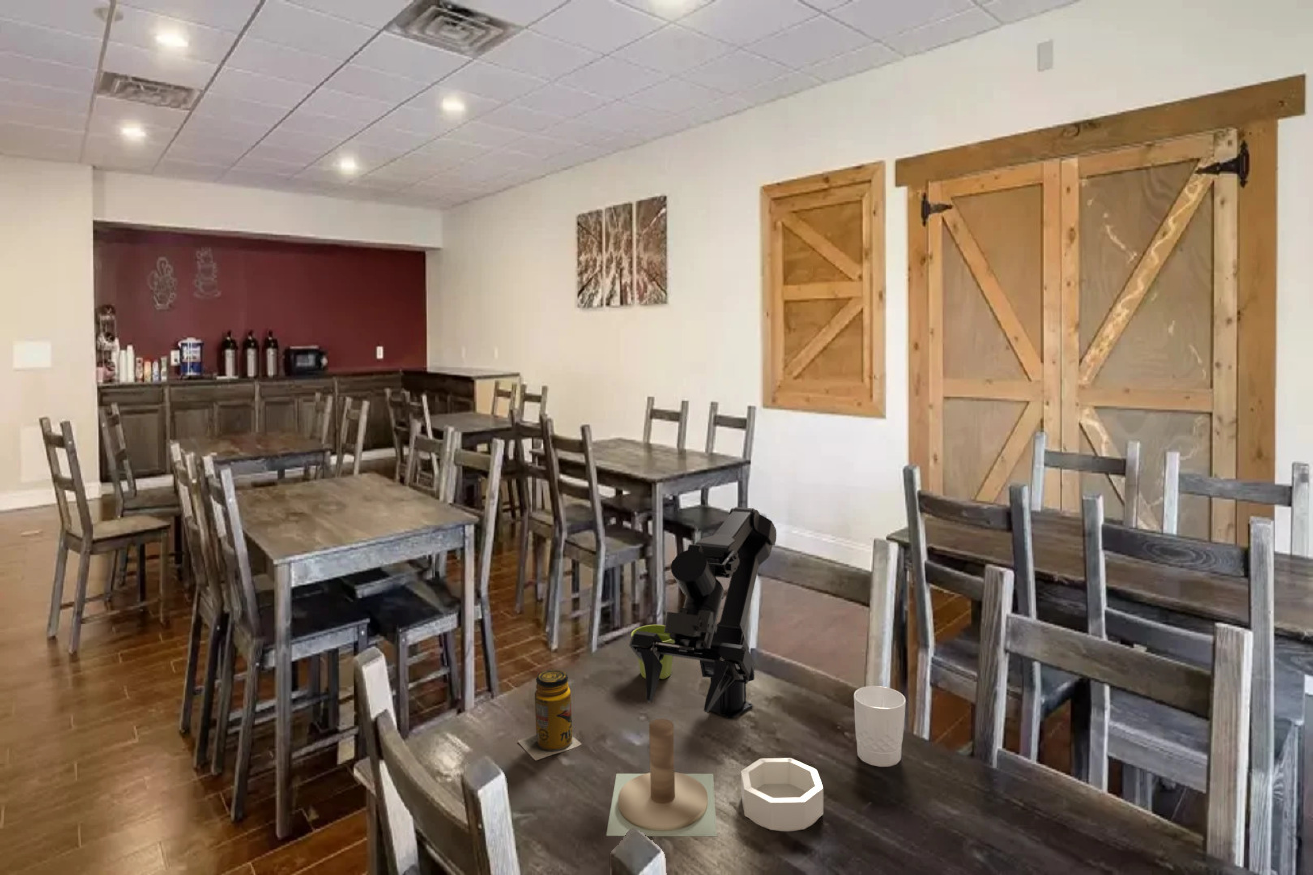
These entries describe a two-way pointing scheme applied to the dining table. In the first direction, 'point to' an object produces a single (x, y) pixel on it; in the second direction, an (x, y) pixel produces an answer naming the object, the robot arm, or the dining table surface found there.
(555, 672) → the condiment
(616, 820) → the sage mat
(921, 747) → the dining table surface
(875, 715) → the white cup
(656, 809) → the birch cover
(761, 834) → the dining table surface
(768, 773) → the ceramic bowl
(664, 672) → the plant pot
